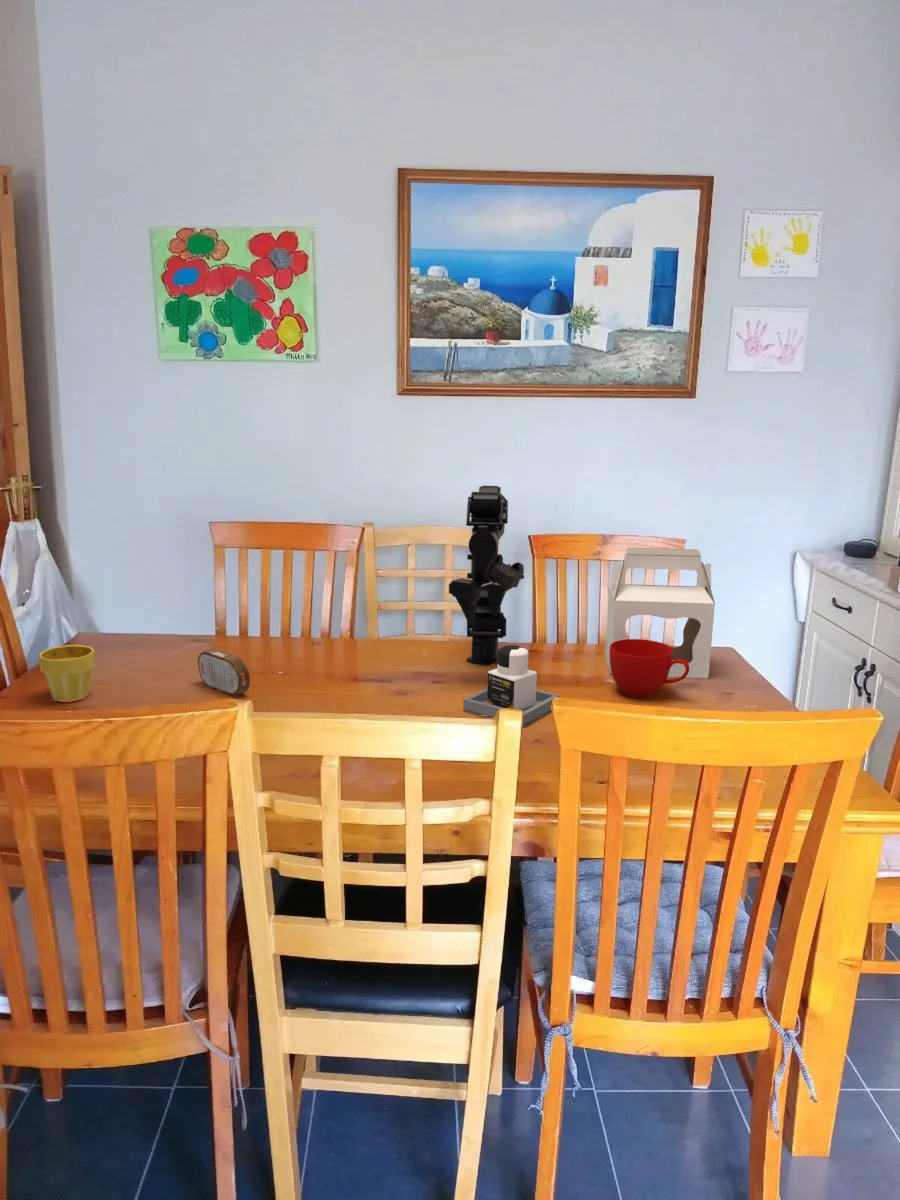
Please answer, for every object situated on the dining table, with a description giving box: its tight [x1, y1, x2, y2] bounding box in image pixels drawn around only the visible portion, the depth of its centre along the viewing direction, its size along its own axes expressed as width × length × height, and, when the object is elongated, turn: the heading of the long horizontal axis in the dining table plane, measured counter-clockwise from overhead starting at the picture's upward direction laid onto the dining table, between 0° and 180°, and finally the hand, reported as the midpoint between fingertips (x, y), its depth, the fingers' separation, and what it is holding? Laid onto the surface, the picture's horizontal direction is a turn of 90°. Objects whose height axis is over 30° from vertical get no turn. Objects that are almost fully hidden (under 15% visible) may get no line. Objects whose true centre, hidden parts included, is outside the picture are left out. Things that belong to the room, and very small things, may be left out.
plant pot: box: [38, 644, 96, 700], centre depth 180 cm, size 10×10×10 cm
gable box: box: [605, 547, 716, 680], centre depth 201 cm, size 22×13×28 cm, turn 85°
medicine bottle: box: [487, 645, 538, 710], centre depth 176 cm, size 7×7×12 cm
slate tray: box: [462, 687, 561, 728], centre depth 177 cm, size 14×14×2 cm
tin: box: [197, 647, 251, 697], centre depth 185 cm, size 15×3×8 cm, turn 50°
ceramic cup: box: [610, 638, 689, 699], centre depth 185 cm, size 13×17×10 cm
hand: (483, 620), depth 193 cm, fingers open, 9 cm apart
